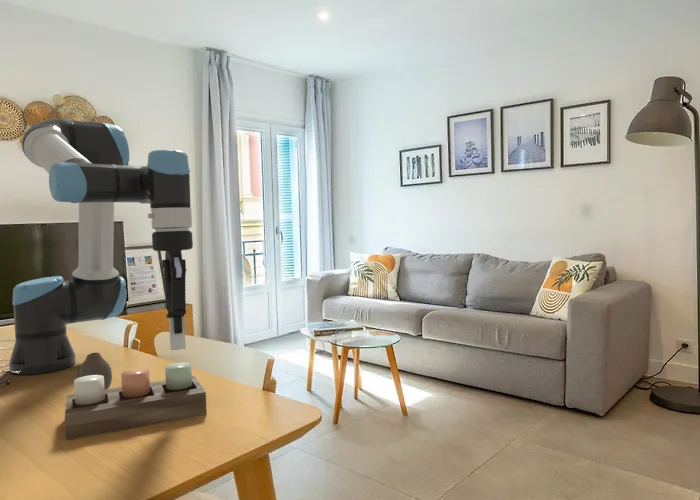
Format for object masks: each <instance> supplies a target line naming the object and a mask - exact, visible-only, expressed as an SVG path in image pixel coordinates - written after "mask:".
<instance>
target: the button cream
mask: <svg viewBox="0 0 700 500" xmlns="http://www.w3.org/2000/svg"><path fill="white" fill-rule="evenodd" d="M73 387H74V388H73V389H74V392H73V393H74V394H75V403H76V404H79V405H87V404H93V403H97V402H100V401H102V400H104V399H105V389H104V376H102V375H89V376H83V377H80V378H75V379H73Z"/></svg>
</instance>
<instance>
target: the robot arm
mask: <svg viewBox="0 0 700 500" xmlns="http://www.w3.org/2000/svg"><path fill="white" fill-rule="evenodd" d="M21 148H22V149H21V150H22V152H23V153H24V156H25V157H26V158H27V159H28V160H29V161H30V163H31V164H33V165H35V166H37V167H39V168H43V170H45V172H47V174H48V185H49V192H50V195H51V198H53V199H54V201H55V202H58V203H61V202H62V203H71V204H78V266H77V268H75V269H74V270H73V272H72V274H71V275H72V276H71V280H65V279H64V277H63V276H61V275H56V276H55V275H54V276H46V277H41V278H36V279H35V278H34V279H31V280H27V281H24V282H21V283H18V284H16V285H15V286H14V288H13V290H12V304H11V305H13V318H14V319H13V320H14V321H13V322H14V334H15V342H14V344H13V345H14V346H13V349H12V352H11V354H10V355H11V356H10V359H9V362H8V369H9V370H10V371H20V370H21V372H20V373H19V375H21V376H23V375H24V376H25V375H27V376H28V375H38V374H39V375H40V374H46V373H52V372H57V371H60V370H64V369H68V368H69V367H72V366H73V365H75V364H76V353H75V351H74V349H73V346H72V343H71V342H70V340H69V337H68V333H67V325H69V324H76V323H77V324H78V323H84V322H91V321H98V320H99V321H100V320H101V321H103V320H106V319H110V318H116V317H118V316H119V315H120V314H121V313H122V312H123V310H124V307H125V305H126V302H127V301H126V300H127V289H126V287H127V284H126V281H125V279H124V278H123V276H121V275H120V272H119V271H118V270H117V269H116V268H115V267H114V235H115V233H114V232H115V231H114V228H115V227H114V225H115V223H114V222H115V221H114V220H115V203H139V204H150V207H149V208H150V212H151V213H148V214H147V218H148V219H151V228H152V229H153V230H154V232H152V233H151V242H152V243H151V244H152V245H151V246H152V250H153V251H155V252H164V259H162V260H161V267H162V268H163V278H164V279H163V280H164V287H165V288H164V289H165V299H166V311H167V314H166V319H168V326H169V327H168V328H169V345H170V350H171V351H179V350H184V349H186V348H187V347H186V329H185V327H186V325H185V315H187V314H186V313H187V310H186V306H187V305H186V274H187V267H186V259H183V254H182V251H189V250H192V249H193V247H194V245H193V232H192V231H191V230H190V228H192V227H193V221H192V218H193V217H192V216H193V215H192V207H191V183H190V182H191V179H190V177H191V176H190V172H191V170H190V165H189V157H188V155H187V153H186V152H184V151H182V150H177V149H155V150H152V151H150V152H149V153H148V155H147V164H146V165H129V162H130V148H129V143H128V139H127V136H126V134H125V132H124V131H123V129H122V128H121V127H120V126H118V125H116V124H111V123H107V122H105V123H104V122H98V121H97V122H96V121H84V120H83V121H82V120H72V119H71V120H70V119H63V118H52V119H51V118H50V119H45V120H41V121H39V122H37V123H35V124H33V125H32V126H30V127H29V128H28V129H26V130H25V132H24V134H23V136H22V139H21ZM10 371H9V372H10Z"/></svg>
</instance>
